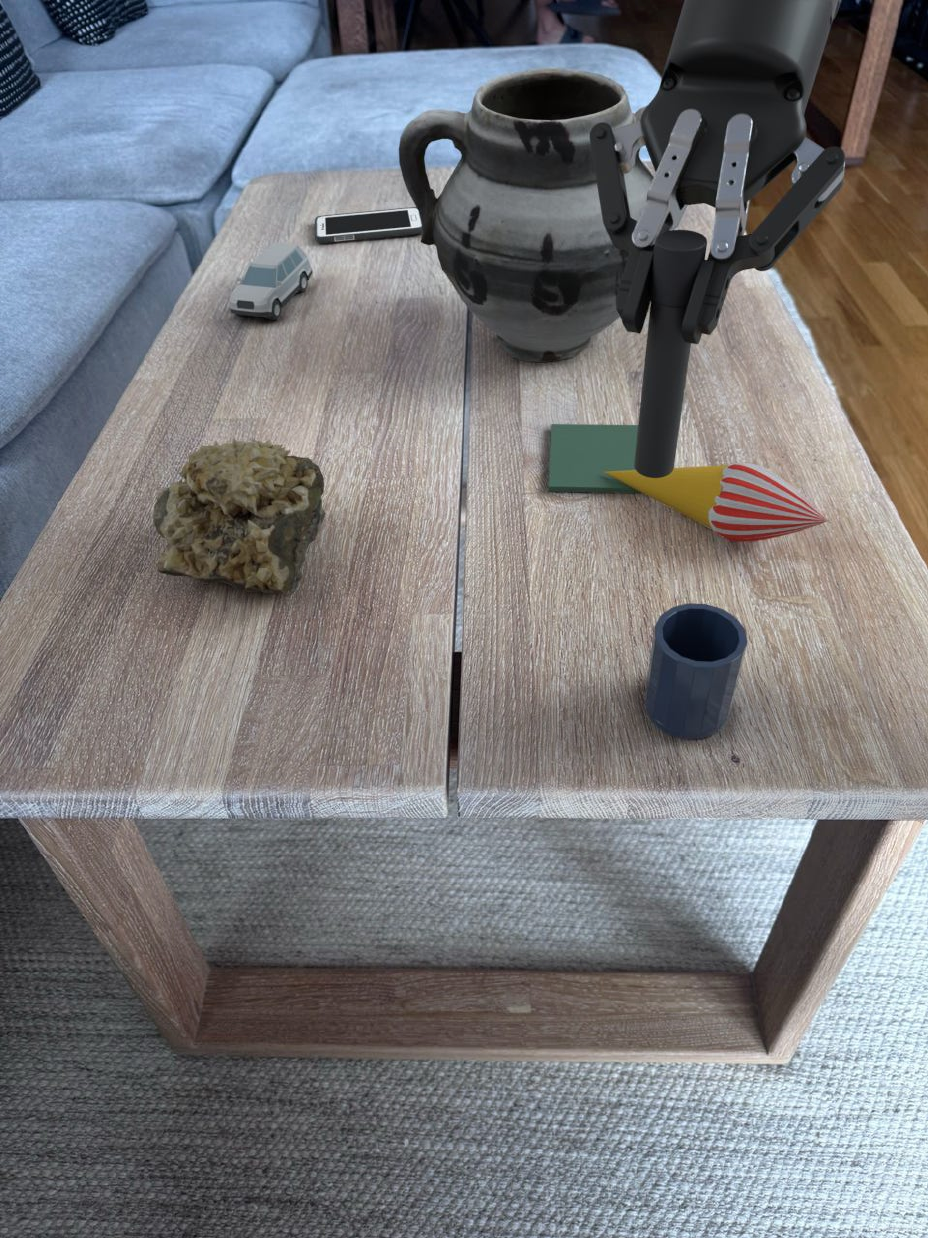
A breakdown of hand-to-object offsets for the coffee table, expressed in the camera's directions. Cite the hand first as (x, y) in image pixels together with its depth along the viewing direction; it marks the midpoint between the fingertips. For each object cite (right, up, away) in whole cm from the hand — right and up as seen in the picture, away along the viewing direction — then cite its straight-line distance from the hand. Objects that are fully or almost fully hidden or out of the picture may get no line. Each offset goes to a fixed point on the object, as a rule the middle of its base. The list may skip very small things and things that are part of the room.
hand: (660, 331), depth 48 cm
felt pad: (+2, -1, +35) cm, 35 cm away
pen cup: (+5, -21, +14) cm, 26 cm away
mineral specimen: (-29, -10, +27) cm, 41 cm away
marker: (+1, -6, +8) cm, 10 cm away
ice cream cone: (+10, -7, +28) cm, 30 cm away
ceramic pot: (-1, +15, +51) cm, 53 cm away
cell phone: (-23, +38, +76) cm, 88 cm away
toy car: (-33, +23, +62) cm, 74 cm away
